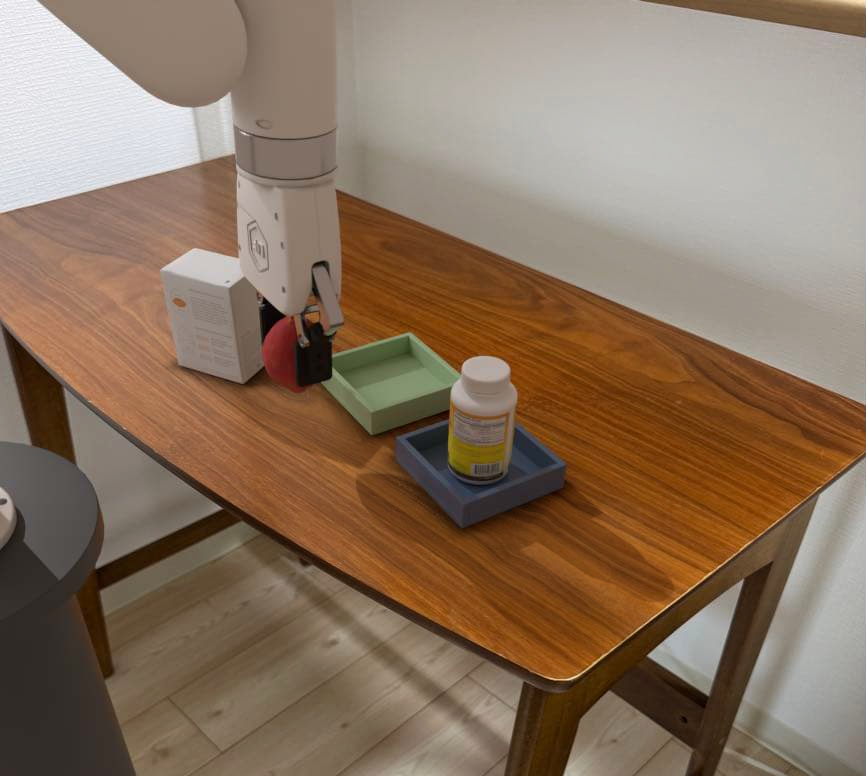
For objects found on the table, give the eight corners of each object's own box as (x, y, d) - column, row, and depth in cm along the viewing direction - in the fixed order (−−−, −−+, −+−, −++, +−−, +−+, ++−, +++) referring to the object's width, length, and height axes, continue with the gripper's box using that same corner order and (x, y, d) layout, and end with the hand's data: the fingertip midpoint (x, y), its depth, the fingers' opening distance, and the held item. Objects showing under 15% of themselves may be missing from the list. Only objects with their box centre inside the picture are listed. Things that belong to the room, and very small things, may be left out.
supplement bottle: (473, 441, 82) (481, 342, 75) (522, 467, 80) (535, 367, 73) (433, 469, 79) (437, 368, 72) (482, 497, 76) (492, 395, 70)
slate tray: (461, 529, 74) (463, 504, 73) (395, 460, 81) (395, 437, 79) (563, 487, 79) (567, 464, 77) (492, 426, 85) (494, 402, 84)
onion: (252, 386, 80) (245, 303, 75) (306, 367, 83) (303, 286, 78) (288, 416, 77) (283, 332, 72) (343, 395, 80) (342, 313, 75)
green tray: (371, 436, 83) (371, 412, 82) (318, 381, 90) (317, 358, 88) (467, 403, 88) (468, 381, 86) (410, 353, 94) (410, 331, 93)
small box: (274, 360, 93) (264, 263, 86) (243, 386, 89) (230, 287, 82) (209, 341, 95) (194, 245, 88) (176, 366, 91) (158, 268, 84)
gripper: (194, 119, 70) (216, 328, 82) (292, 198, 59) (301, 425, 71) (282, 108, 73) (291, 311, 85) (390, 182, 63) (383, 401, 75)
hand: (296, 361), depth 78 cm, fingers closed on onion, 6 cm apart
